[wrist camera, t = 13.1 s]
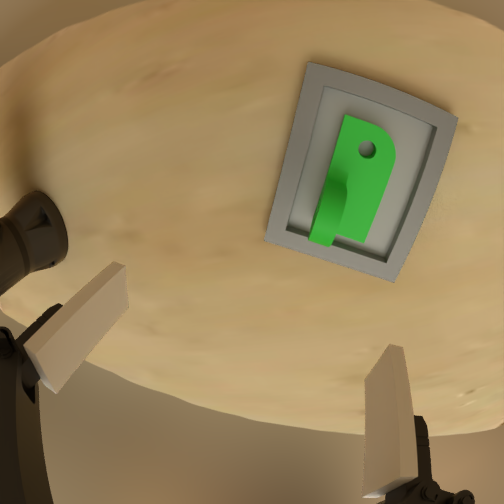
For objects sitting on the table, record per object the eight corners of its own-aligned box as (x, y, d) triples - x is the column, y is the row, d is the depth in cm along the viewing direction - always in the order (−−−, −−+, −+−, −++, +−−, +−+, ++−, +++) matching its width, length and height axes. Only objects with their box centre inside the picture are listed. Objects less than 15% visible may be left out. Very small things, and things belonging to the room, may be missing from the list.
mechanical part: (362, 235, 31) (368, 272, 25) (312, 218, 32) (305, 250, 25) (399, 134, 25) (420, 142, 19) (344, 114, 26) (348, 114, 19)
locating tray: (267, 233, 35) (263, 240, 33) (309, 64, 25) (308, 61, 23) (391, 274, 33) (394, 282, 31) (451, 117, 23) (458, 117, 21)
